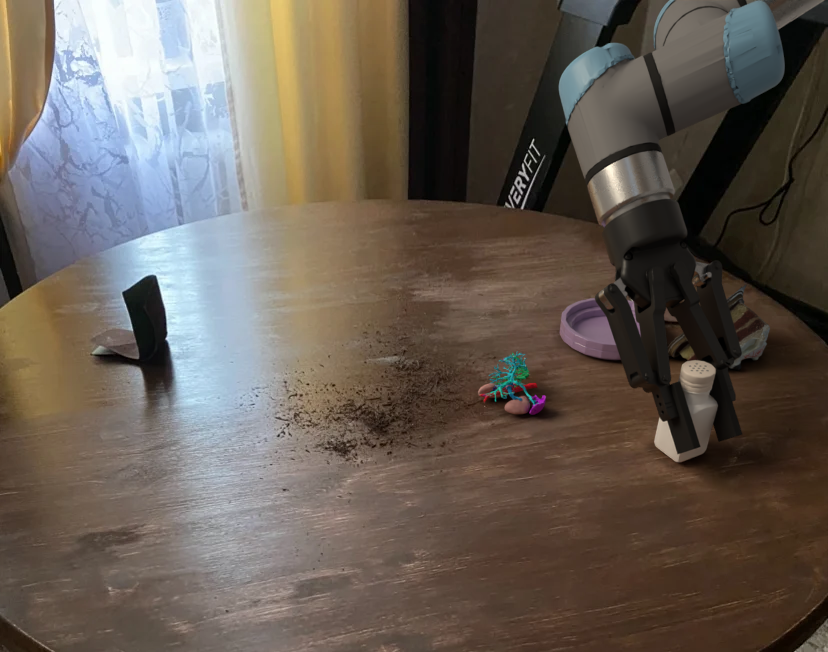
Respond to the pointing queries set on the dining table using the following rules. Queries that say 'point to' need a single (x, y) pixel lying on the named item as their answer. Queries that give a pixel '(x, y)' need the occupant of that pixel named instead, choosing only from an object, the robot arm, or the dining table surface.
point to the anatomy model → (513, 388)
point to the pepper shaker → (692, 409)
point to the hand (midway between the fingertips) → (709, 443)
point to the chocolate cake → (747, 328)
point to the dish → (590, 329)
